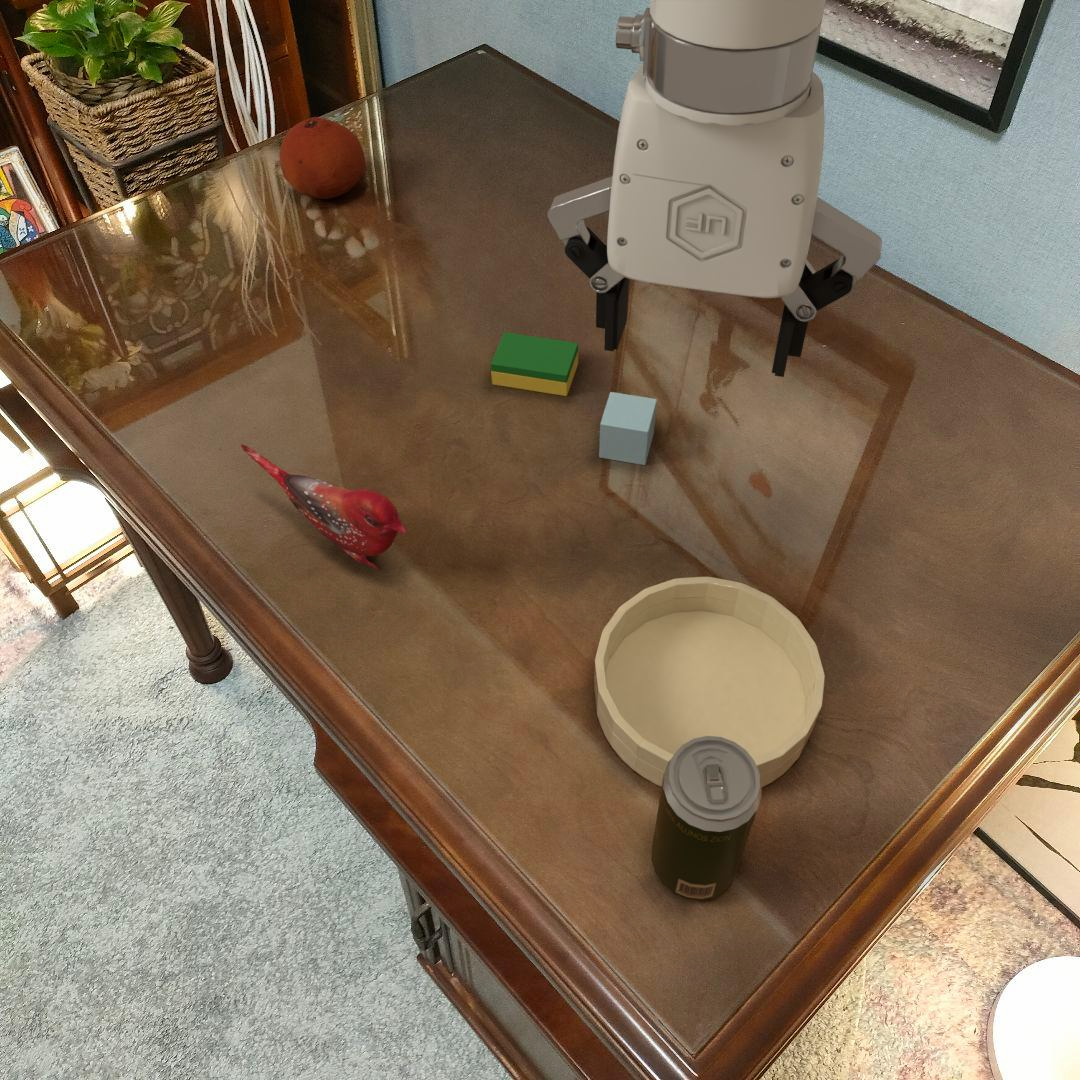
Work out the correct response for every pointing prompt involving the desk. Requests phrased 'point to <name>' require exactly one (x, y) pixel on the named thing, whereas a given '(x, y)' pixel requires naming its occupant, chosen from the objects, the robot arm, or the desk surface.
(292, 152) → the fruit
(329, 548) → the desk surface
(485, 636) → the desk surface
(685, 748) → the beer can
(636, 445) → the ice cube
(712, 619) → the bowl
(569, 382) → the scrubber
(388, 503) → the decorative bird figurine
